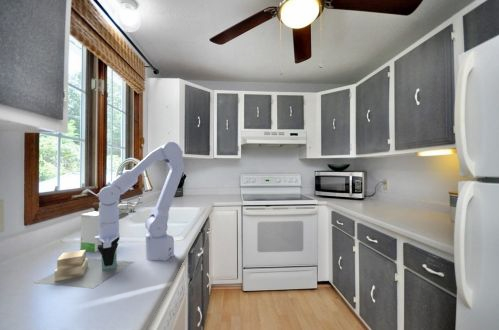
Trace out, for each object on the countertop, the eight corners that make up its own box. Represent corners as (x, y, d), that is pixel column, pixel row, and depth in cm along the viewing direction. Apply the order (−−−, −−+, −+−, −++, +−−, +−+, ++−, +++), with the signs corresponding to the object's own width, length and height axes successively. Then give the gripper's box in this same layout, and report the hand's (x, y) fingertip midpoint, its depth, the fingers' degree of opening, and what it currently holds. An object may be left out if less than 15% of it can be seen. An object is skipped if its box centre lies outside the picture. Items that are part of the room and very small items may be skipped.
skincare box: (79, 252, 89) (79, 214, 89) (94, 246, 96) (94, 211, 96) (96, 254, 87) (95, 215, 87) (110, 248, 94) (110, 211, 94)
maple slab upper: (85, 258, 74) (85, 249, 74) (82, 265, 69) (81, 256, 69) (62, 262, 71) (62, 253, 71) (57, 270, 66) (57, 260, 66)
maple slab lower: (87, 266, 75) (87, 257, 75) (83, 275, 69) (83, 265, 69) (61, 271, 72) (61, 262, 72) (54, 281, 65) (54, 271, 65)
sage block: (116, 262, 77) (116, 248, 77) (116, 267, 74) (115, 252, 74) (103, 265, 76) (103, 250, 76) (101, 270, 72) (101, 254, 72)
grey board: (134, 264, 78) (134, 261, 78) (93, 291, 61) (93, 288, 61) (85, 261, 81) (85, 258, 81) (33, 286, 65) (33, 282, 65)
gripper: (97, 219, 79) (98, 256, 79) (91, 229, 66) (91, 274, 66) (120, 216, 83) (120, 253, 83) (118, 226, 70) (118, 268, 70)
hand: (109, 262), depth 75 cm, fingers open, 5 cm apart
